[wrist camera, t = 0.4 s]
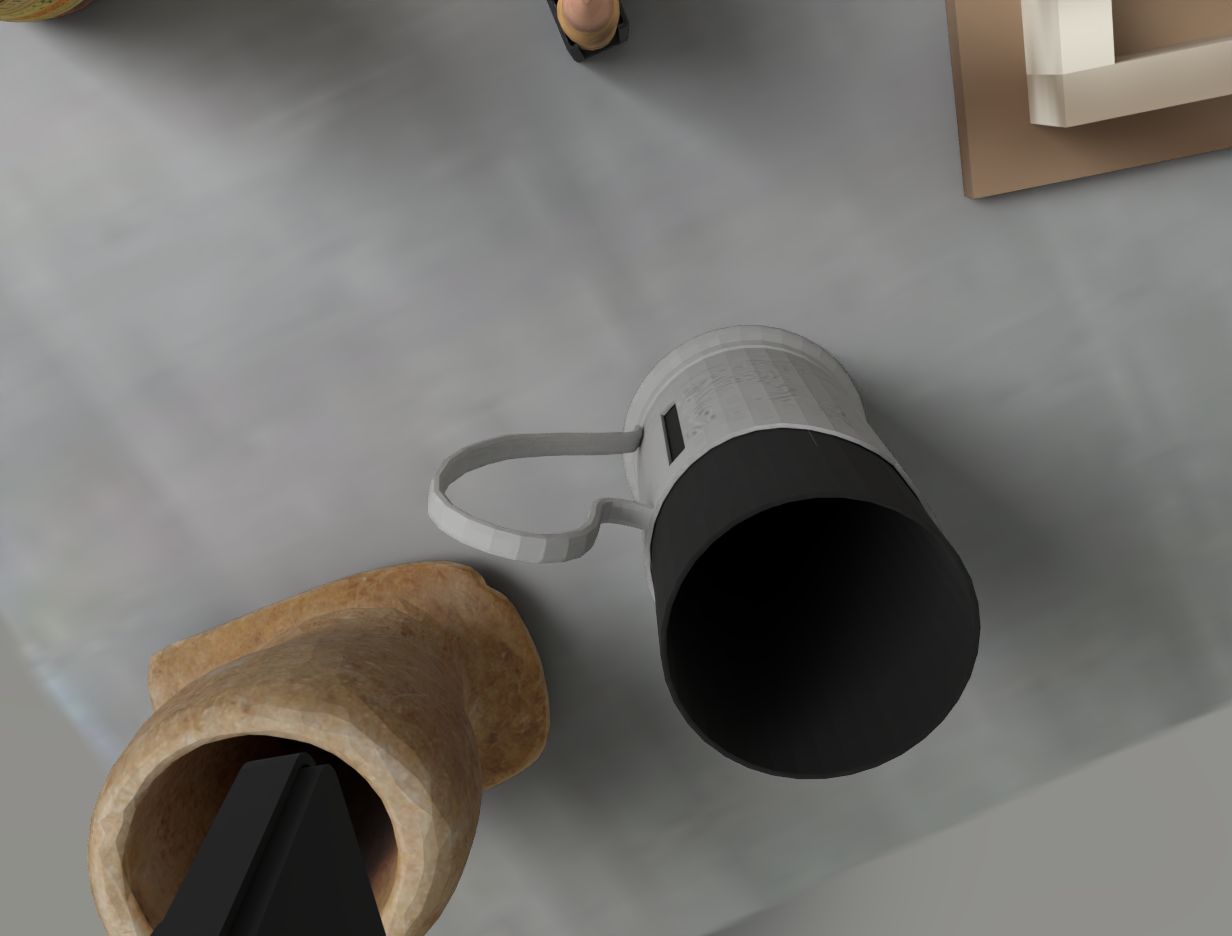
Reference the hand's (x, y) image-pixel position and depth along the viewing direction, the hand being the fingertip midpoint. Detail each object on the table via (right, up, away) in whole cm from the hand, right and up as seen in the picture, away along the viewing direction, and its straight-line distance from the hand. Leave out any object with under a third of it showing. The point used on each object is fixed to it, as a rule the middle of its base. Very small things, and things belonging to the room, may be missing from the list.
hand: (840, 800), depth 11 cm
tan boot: (-12, -5, +33) cm, 36 cm away
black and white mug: (0, +5, +30) cm, 31 cm away
